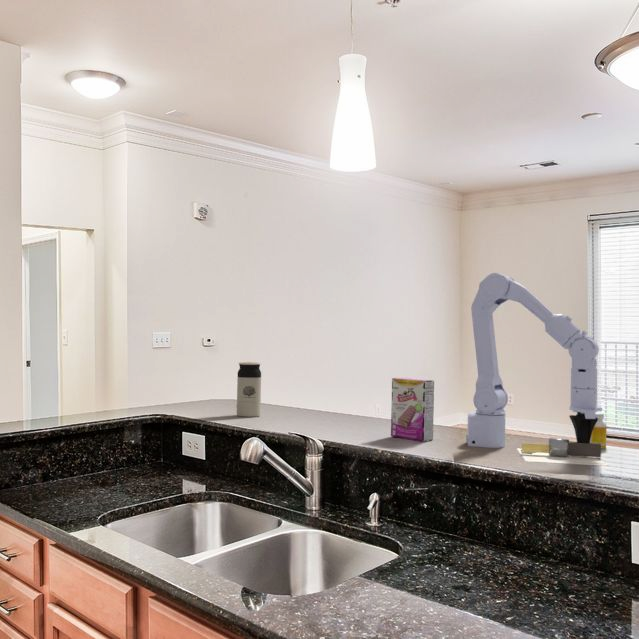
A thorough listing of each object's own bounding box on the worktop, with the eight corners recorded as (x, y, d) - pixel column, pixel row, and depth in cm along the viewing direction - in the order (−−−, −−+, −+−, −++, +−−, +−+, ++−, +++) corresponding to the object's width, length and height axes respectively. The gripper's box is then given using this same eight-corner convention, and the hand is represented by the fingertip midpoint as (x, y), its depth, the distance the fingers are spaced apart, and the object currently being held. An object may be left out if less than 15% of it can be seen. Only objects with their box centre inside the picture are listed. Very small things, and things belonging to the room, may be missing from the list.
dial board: (525, 465, 142) (525, 459, 142) (516, 452, 159) (516, 447, 159) (607, 470, 139) (607, 464, 139) (589, 456, 156) (589, 450, 156)
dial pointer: (523, 454, 149) (523, 438, 149) (520, 451, 153) (520, 435, 153) (602, 458, 145) (602, 442, 146) (597, 455, 150) (597, 439, 150)
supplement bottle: (579, 450, 163) (579, 412, 164) (589, 448, 167) (590, 411, 167) (599, 453, 159) (600, 414, 159) (610, 451, 163) (610, 413, 163)
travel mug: (240, 414, 223) (241, 362, 223) (262, 414, 222) (263, 362, 222) (233, 416, 215) (235, 362, 216) (257, 417, 214) (258, 363, 214)
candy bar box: (389, 437, 179) (390, 377, 179) (400, 435, 183) (401, 377, 183) (423, 442, 171) (424, 380, 172) (434, 440, 175) (435, 379, 175)
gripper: (610, 391, 144) (609, 452, 144) (594, 386, 158) (593, 442, 158) (576, 390, 145) (576, 450, 145) (563, 385, 159) (563, 440, 159)
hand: (583, 446), depth 151 cm, fingers closed
